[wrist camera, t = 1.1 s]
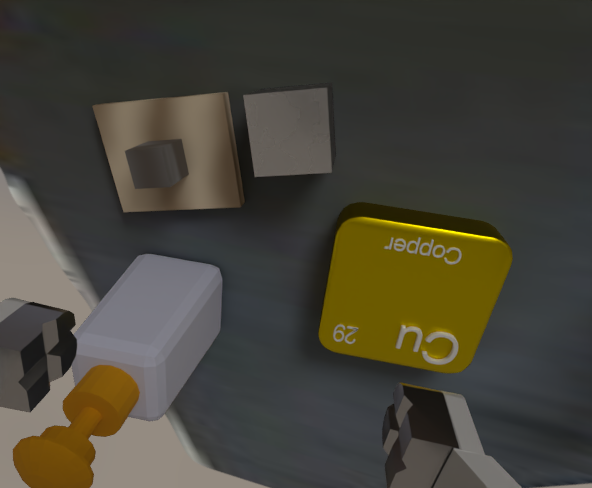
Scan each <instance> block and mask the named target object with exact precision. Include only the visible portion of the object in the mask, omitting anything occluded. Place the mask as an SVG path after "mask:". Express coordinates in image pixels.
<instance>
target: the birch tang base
mask: <svg viewBox="0 0 592 488" xmlns="http://www.w3.org/2000/svg"><path fill="white" fill-rule="evenodd" d="M93 109H94V113H95V116H96V120H97V123H98V127H99V130H100V133H101V137H102V140H103V144H104V147H105V151H106V154H107V157H108V161H109V164H110V168H111V171H112V175H113V178H114V181H115V185H116V188H117V192H118V195H119V198H120V202H121V205H122V209H123V212H140V211H164V210H187V209H211V208H235V207H241V206H242V205H243V204H244V202H245V199H244V193H243V187H242V180H241V174H240V167H239V161H238V154H237V148H236V141H235V135H234V128H233V122H232V116H231V109H230V103H229V96H228V92H223V93H212V94H201V95H191V96H180V97H169V98H158V99H148V100H137V101H126V102H116V103H105V104H98V105H93Z"/></svg>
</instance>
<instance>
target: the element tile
mask: <svg viewBox="0 0 592 488" xmlns="http://www.w3.org/2000/svg"><path fill="white" fill-rule="evenodd" d="M512 259H513V258H512V250H511V248H510V246H509V245H508V243H507V242H506V241H505V240H504V238H503V237H502V236H501V234H500V233H499V232H498V231H497V229H496V228H495V227H494V226H492V225H490V224H489V223H486V222H483V221H479V220H473V219H466V218H460V217H454V216H447V215H441V214H435V213H428V212H422V211H416V210H409V209H403V208H397V207H390V206H384V205H378V204H372V203H365V202H357V203H353V204H350V205H348V206H347V207H345V208H344V209H343V210H342V212H341V213H340V215H339V218H338V221H337V226H336V232H335V238H334V243H333V249H332V255H331V260H330V266H329V272H328V277H327V283H326V289H325V294H324V300H323V306H322V311H321V318H320V325H319V331H318V335H319V339H320V342H321V344H322V345H323V346H324V347H325V348H326V349H328V350H330V351H332V352H335V353H340V354H345V355H350V356H356V357H361V358H366V359H371V360H377V361H382V362H387V363H393V364H398V365H403V366H408V367H414V368H419V369H424V370H429V371H435V372H440V373H449V374H450V373H458V372H461V371H462V370H464V369H465V368H467V367H468V366H469V365H470V363H471V362H472V359H473V357H474V355H475V352H476V350H477V347H478V345H479V342H480V340H481V337H482V335H483V333H484V330H485V328H486V325H487V323H488V320H489V318H490V315H491V313H492V311H493V308H494V306H495V303H496V301H497V298H498V296H499V293H500V291H501V289H502V286H503V284H504V281H505V279H506V276H507V274H508V271H509V269H510V267H511V264H512Z"/></svg>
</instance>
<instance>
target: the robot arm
mask: <svg viewBox="0 0 592 488" xmlns="http://www.w3.org/2000/svg"><path fill="white" fill-rule="evenodd" d="M74 326H75V317H74V314H73V313H72V312H70V311H67V310H63V309H59V308H55V307H51V306H47V305H42V304H38V303H34V302H28V301H24V300H20V299H16V298H9V299H5V300H3V301H2V302H1V303H0V407H5V408H10V409H15V410H20V411H26V412H31V411H32V410H33V409H34V408H35V407H36V405H37V404H38V403H39V402H40V401H41V400H42V399H43V398H44V397H45V396H46V394H47V393H48V392H49V391H50V382H51V381H54V380H56V379H58V378H60V377H62V376H63V375H64V374H65V373H66V372H67V371H68V370H69V368H70V367H71V365H72V363H73V361H74V359H75V357H76V352H77V339H76V338H75V336H74V335H73V334H72V332H71V331H70V330H71V329H72V328H73V327H74ZM393 399H394V404H392V405H391V406H389V407H388V408H387V411H386V414H385V417H384V422H383V428H382V441H383V448H384V450H385V451H386V452H387V454H388V455H389V456H388V458H387V461H386V463H385V473H386V482H387V488H522V487H521V486H520V485H519V484H518V483H517V482H516V481H515V480H514V479H513V478H512V477H511V476H510V475H509V474H508V473H507V472H506V471H505V470H504V469H503V468H502V467H501V466H500V465H499V464H498V463H497V462H496V461H495V459H494V458H493V457H491V456H487V455H485V453H484V450H483V448H482V445H481V442H480V439H479V437H478V434H477V431H476V428H475V426H474V423H473V420H472V417H471V415H470V412H469V409H468V406H467V404H466V401H465V398H464V397H463V396H462V395H460V394H455V393H450V392H445V391H438V390H433V389H429V388H424V387H419V386H414V385H409V384H405V383H400V382H399V383H398V384H397V386H396V387H395V390H394V392H393Z"/></svg>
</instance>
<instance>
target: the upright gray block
mask: <svg viewBox="0 0 592 488" xmlns="http://www.w3.org/2000/svg"><path fill="white" fill-rule="evenodd" d="M243 97H244V104H245V111H246V118H247V125H248V132H249V139H250V147H251V154H252V161H253V168H254V175H255V177H263V176H281V175H299V174H317V173H332V170H333V166H334V161H335V157H336V146H335V127H334V107H333V88H332V82H330V83H319V84H309V85H298V86H287V87H276V88H266V89H260V90H257V91H254V92H251V93H248V94H245V95H243Z"/></svg>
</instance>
